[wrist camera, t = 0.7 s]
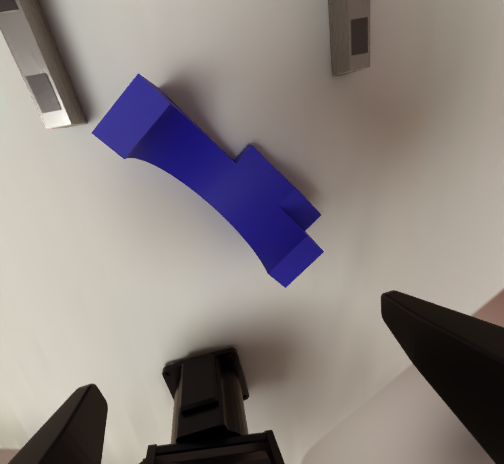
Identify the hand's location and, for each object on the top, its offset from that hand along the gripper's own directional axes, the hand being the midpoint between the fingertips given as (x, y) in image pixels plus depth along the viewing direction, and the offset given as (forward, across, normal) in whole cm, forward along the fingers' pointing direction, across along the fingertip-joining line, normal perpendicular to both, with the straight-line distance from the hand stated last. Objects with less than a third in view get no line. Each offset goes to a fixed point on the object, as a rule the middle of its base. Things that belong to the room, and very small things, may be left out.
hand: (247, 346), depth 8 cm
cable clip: (+12, -1, -3) cm, 13 cm away
